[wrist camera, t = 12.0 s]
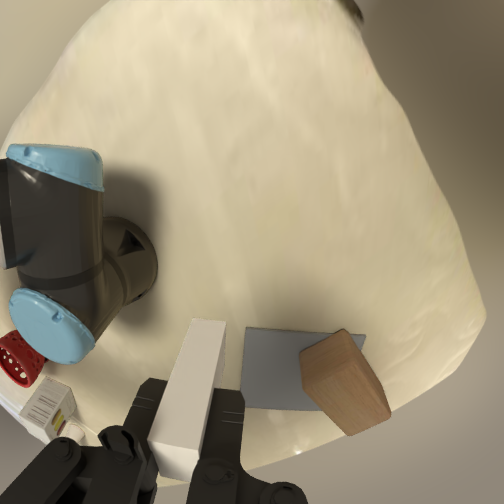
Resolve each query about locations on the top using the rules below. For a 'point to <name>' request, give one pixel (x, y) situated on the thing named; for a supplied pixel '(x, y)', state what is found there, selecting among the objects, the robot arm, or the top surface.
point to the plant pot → (20, 359)
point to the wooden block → (343, 384)
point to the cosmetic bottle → (75, 433)
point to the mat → (278, 368)
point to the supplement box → (48, 410)
